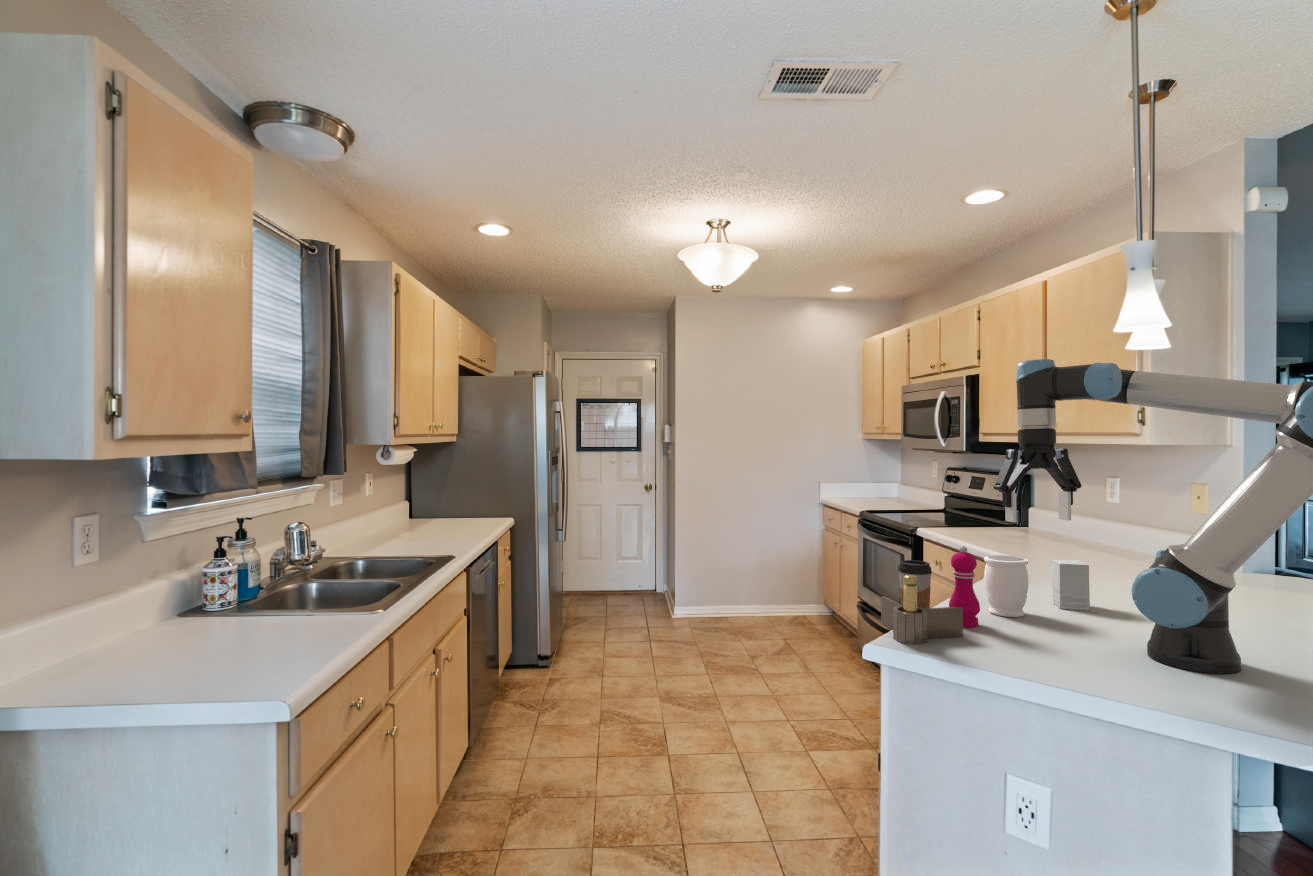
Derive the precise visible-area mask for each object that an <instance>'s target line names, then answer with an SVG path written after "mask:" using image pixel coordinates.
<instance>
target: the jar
mask: <svg viewBox="0 0 1313 876" xmlns="http://www.w3.org/2000/svg"><path fill="white" fill-rule="evenodd" d="M983 561H984V562H985V567H984V573H983V583H984V584H983V585H984V589H985V595H986V598H987V601H988V604H989V605H990V607H989V609H988V612H989V613H990V614H992V615H996V616H999V617H1007V618H1019V617H1023V616H1025V611H1024V610H1023V608H1024V607H1025V605H1026V602H1027V597H1028V592H1029V583H1030V582H1029V573H1028V570H1027V565H1028V564H1029V560H1028V559H1027V558H1026V557H1025V558H1024V557H1020V556H1012V555H1001V554H1000V555H999V554H998V555H995V554H994V555H986V556H984V557H983Z"/></svg>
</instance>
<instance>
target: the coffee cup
mask: <svg viewBox="0 0 1313 876" xmlns="http://www.w3.org/2000/svg"><path fill="white" fill-rule="evenodd" d="M897 567H898V569H897V571H898V576H899V577H898V578H899V593H900V594H899V595H900V604H901V605H903V606H904V589H903V576H904V575H914V576H917V607H920V608H923V609H924V608H931V607H930V604H931V591H932V590H931V581H932V579H931V578H932V574H933V571H932V567H931V565H930V562H928V561H924V560H915V559H907V560H900V561H899V565H898V566H897Z"/></svg>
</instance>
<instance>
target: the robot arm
mask: <svg viewBox="0 0 1313 876" xmlns="http://www.w3.org/2000/svg"><path fill="white" fill-rule="evenodd" d="M1055 364H1056V363H1055V360H1053V359H1049V358H1040V359H1039V358H1038V359H1028V360H1024V361H1021V362H1019V363H1018V364H1017V368H1016V369H1017V370H1016V380H1015V383H1016V400H1017V401H1016V402H1017V403H1016V404H1017V407H1016V408H1017V414H1016V415H1017V427H1019V428H1020V429H1019V428H1018V430H1017V444H1018V445H1019V449H1016V448H1014V449H1012V448H1008V449H1006V451H1005V459H1004V461H1003V464H1002V466H1001V468H1000V470H999V473H998V476H997V477H996V480H995V482H994V485H993V489H994V490H996V491H998V492H999V493H1001V495H1002V496H1001V497H1002V498H1001V499H1002V501H1001V503H1002V507H1003V508H1004V511H1005V516H1004V517H1005V521H1004V522H1009V523H1017V522H1018V515H1017V512H1018V511H1017V493H1016V492H1014V491H1015V489H1016V488H1017V487H1018V485H1020V482H1021V481H1022V480H1023V479H1024V477H1025V476H1026V474H1027V473H1028V472H1029V471H1031V470H1033V469H1034V470H1035V469H1036V470H1037V469H1043V470H1045V471H1047V473H1048V474H1049V475H1050V476H1051V478H1052V479H1053V480H1054V481H1055V483H1056V484H1057V485H1058V486H1059V487H1060V489H1061V490H1059V491H1058V519H1059V520H1063V521H1072V506H1073V505H1074V493H1075V492H1078V489H1081V488H1082V484H1081V481H1080V479H1079V477H1078V475H1077V473H1076V470H1075V468H1074V466H1073V464H1072V462H1071V460H1070V458H1069V457H1070V456H1069V450H1068V449H1067V448H1059V447H1057V448H1056V449H1055V445H1056V444H1057V430H1056V429H1055V428H1054V427H1055V426H1056V425H1057V416H1056V415H1057V413H1056V411H1057V410H1056V408H1057V407H1056V402H1057V401H1059V402H1060V401H1061V402H1062V401H1078V400H1080V401H1081V400H1090V401H1099V402H1105V403H1114V404H1115V403H1117V404H1124V405H1131V406H1132V405H1135V406H1141V407H1148V408H1154V409H1155V408H1157V409H1164V410H1172V411H1180V412H1188V413H1194V414H1195V413H1196V414H1203V415H1211V416H1218V417H1226V418H1235V419H1242V420H1248V421H1257V422H1265V423H1272V424H1279V425H1278V426H1277V428H1276V429H1275V431H1274V432H1275V436H1276V439H1277V441H1276V442H1277V443H1276V444H1275V445H1274V446H1273V448H1272V449H1270V451H1268V453H1267V454H1266V455H1265V456H1264V457H1263V458H1262V459H1261V460H1260V461H1259V462H1258V464H1257V465H1256V466H1255V467H1254V468H1253V469H1252V470H1251V471H1250V472H1249V474H1247V476H1246V477H1245V478H1244V479H1243V480H1242V481H1241V482H1240V483H1239V484H1238V485H1237V487H1235V489H1233V491H1231V493H1230V494H1229V495H1228V496H1227V497H1226V498H1225V499H1224V500H1223V501H1222V503H1220V504H1219V505H1218V507H1217V508H1216V509H1215V510H1214V511H1213V512H1212V513H1211V515H1210V516H1209V517H1207V519H1205V521H1204V522H1203V523H1202V524H1201V525H1200V526H1199V527H1198V528H1197V529H1196V530H1195V532H1194V533H1192V535H1191V536H1190V537H1189V538H1188V539H1187V540H1186V541H1185V542H1184V543H1183V544H1172V545H1169V546H1168V547H1167V548H1165V549H1160V550H1158V551H1157V552H1156V554H1155V558H1154V562H1152V564H1151V565H1150V566H1149V568H1147V569H1144V570H1143V571H1141V572H1139V573H1138V574H1137V575H1136V577H1135V579H1134V581H1133V583H1132V587H1131V596H1132V600H1133V602H1134V605H1135V607H1136V608H1137V610H1138V611H1139V612H1140V614H1142V615H1143V616H1144V617H1145V618H1147V619H1148V620H1150V622H1153V623H1154V626H1153V628H1152V632H1151V635H1150V637H1149V640H1148V641H1147V643H1146V644H1147V645H1146V650H1147V651H1146V653H1147V656H1148V657H1149V658H1151V659H1153V661H1156V662H1159V663H1161V664H1165V665H1167V666H1170V667H1174V668H1179V669H1182V670H1188V671H1194V672H1198V673H1199V672H1200V673H1207V674H1222V675H1223V674H1224V675H1225V674H1235V673H1238V672H1241V670H1242V658H1241V656H1240V654H1239V653H1238V651H1237V648H1236V645H1235V642H1234V639H1233V636H1232V634H1231V631H1230V624H1229V623H1230V618H1229V617H1230V615H1229V614H1230V613H1229V612H1230V610H1229V609H1230V608H1229V607H1230V606H1229V594H1230V593H1231V591H1232V590H1234V588H1236V586H1237V584H1236V580H1235V575H1234V574H1235V573H1236V572H1237V571H1238V570H1239V569H1240V568H1241V567H1242V566H1243V565H1244V564H1245V563H1246V562H1247V561H1248V560H1250V558H1251V557H1252V556H1253V555H1254V554H1255V553H1256V552H1257V551H1258V550H1259V549H1260V548H1261V547H1262V546H1263V545H1264V544H1265V543H1266V542H1267V541H1268V540H1269V539H1270V538H1271V537H1272V536H1273V535H1274V534H1275V533H1276V532H1277V531H1278V530H1279V529H1280V528H1281V527H1283V526H1282V525H1284V524H1285V523H1286V522H1287V521H1288V520H1289V519H1290V518H1291V517H1293V515H1294V514H1295V513H1296V512H1297V511H1298V510H1299V509H1300V508H1301V507H1302V506H1303V505H1304V504H1305V503H1306V502H1307V501H1308V500H1309V499H1311V497H1312V496H1313V381H1311V380H1310V381H1309V380H1301V381H1298V382H1296V383H1294V384H1283V383H1274V382H1272V383H1271V382H1262V381H1249V380H1242V379H1241V380H1240V379H1239V380H1238V379H1228V378H1219V377H1217V378H1216V377H1208V376H1207V377H1206V376H1196V375H1185V374H1174V373H1166V372H1165V373H1163V372H1153V371H1142V370H1141V371H1140V370H1131V369H1120V368H1119V365H1118V364H1116V363H1114V362H1094V363H1088V364H1080V365H1072V366H1071V365H1068V366H1056V365H1055ZM1054 458H1055V459H1054ZM1018 459H1020V460H1019V461H1018ZM1055 460H1056V461H1055Z"/></svg>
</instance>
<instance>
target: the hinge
mask: <svg viewBox="0 0 1313 876" xmlns="http://www.w3.org/2000/svg"><path fill="white" fill-rule="evenodd" d="M880 624H882V625H883V626H885V627H886V628H888V629H890V630H892V633H893V637H892V639H893V640H895V641H896V642H899V643H901V644H907V645H908V644H909V645H924V644H926V643H928V640H931V639H932V640H933V639H949V638H950V639H951V638H963V637H964V627H963V608H962V607H949V606H947V607H945V606H944V607H943V606H942V607H929V608H924V609H923V608H920V607H917V613H906V612H904V606H903V605H901V603H900V602H897V601H895V600H893V599H891V598H890V597H889V598H888V597H886V596H884V595H883V596H880Z"/></svg>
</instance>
